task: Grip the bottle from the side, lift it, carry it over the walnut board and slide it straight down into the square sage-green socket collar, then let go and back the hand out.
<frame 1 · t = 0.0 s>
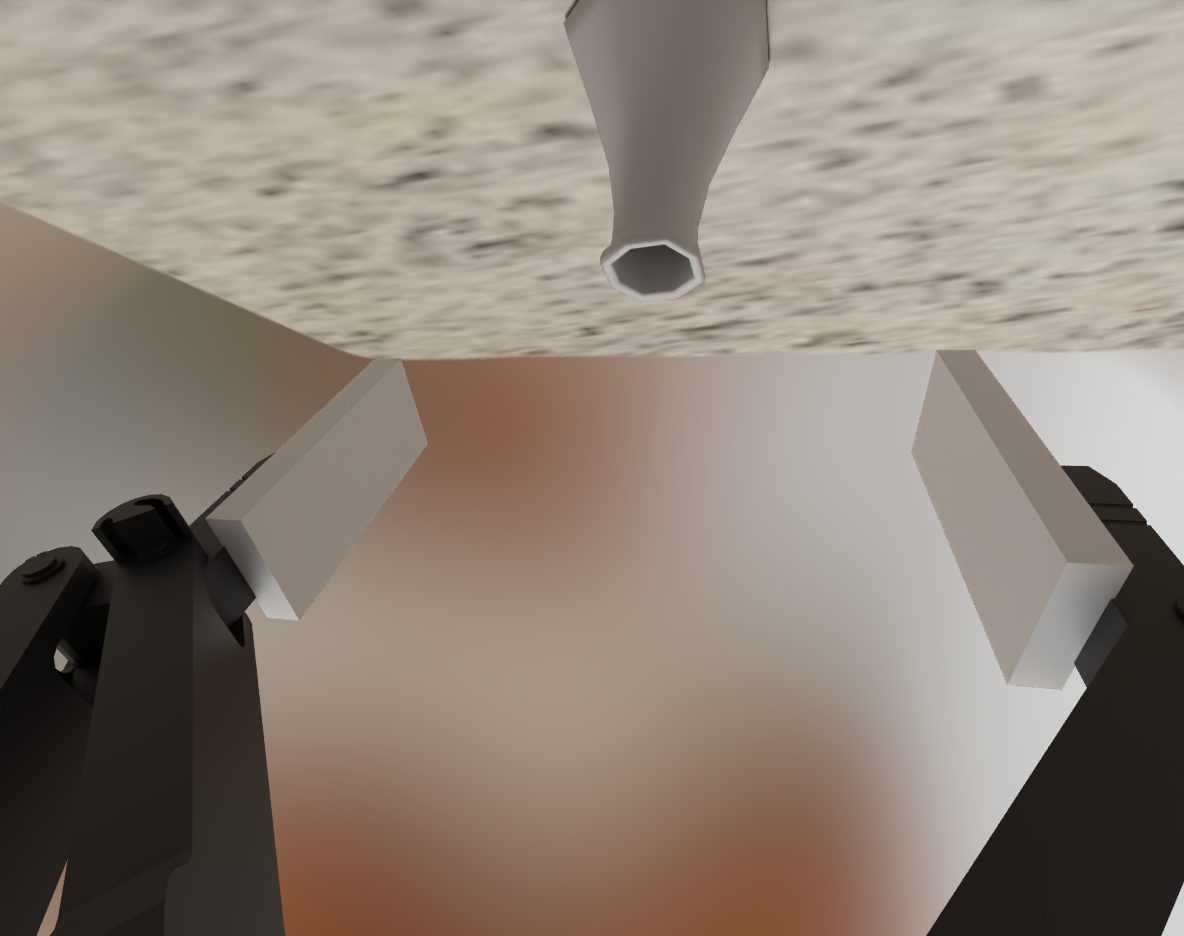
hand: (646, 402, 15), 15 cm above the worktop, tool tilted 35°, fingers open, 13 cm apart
flask: (668, 35, 22), on the worktop
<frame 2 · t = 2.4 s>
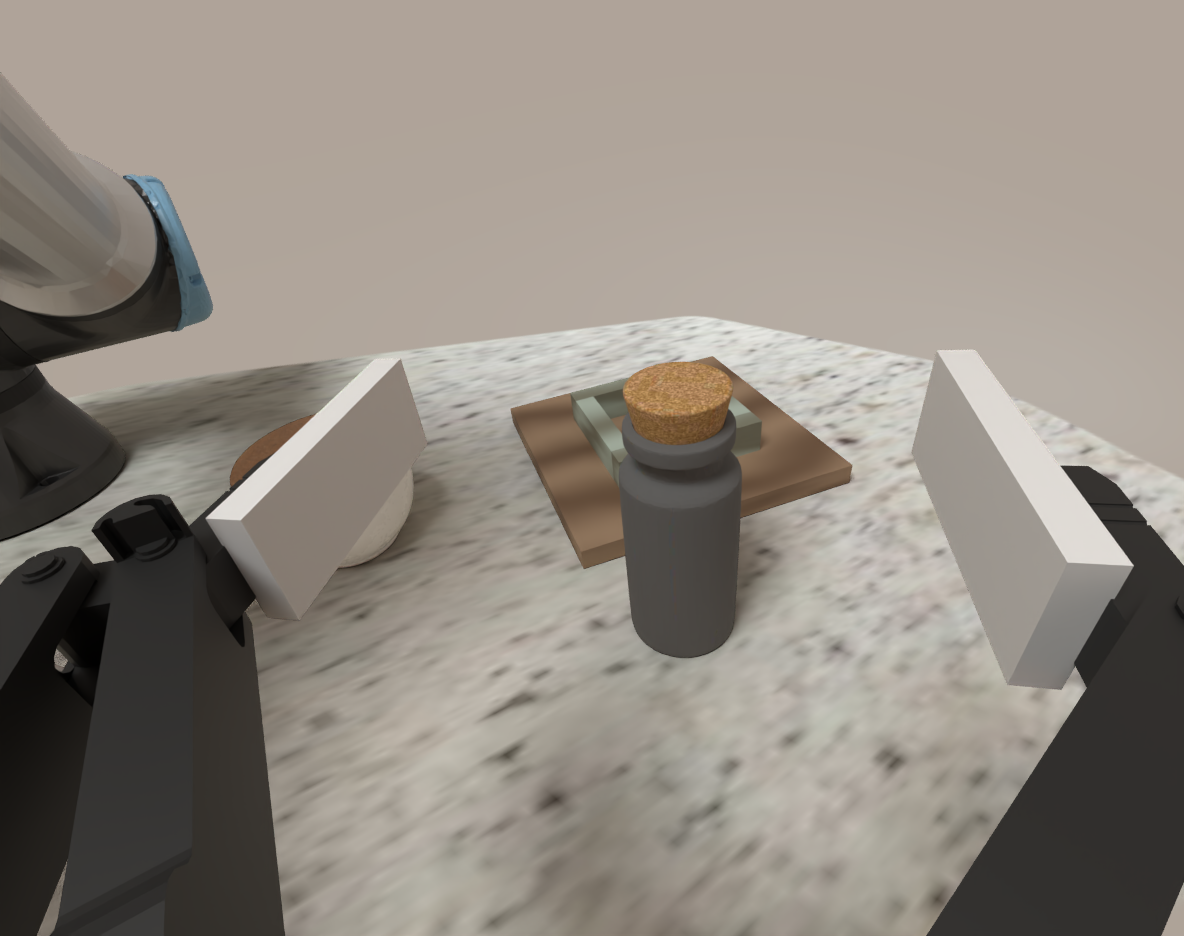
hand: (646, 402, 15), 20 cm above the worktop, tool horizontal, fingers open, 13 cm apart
socket board: (661, 449, 48), on the worktop
lidded jar: (358, 539, 43), on the worktop
bottle: (682, 618, 35), on the worktop
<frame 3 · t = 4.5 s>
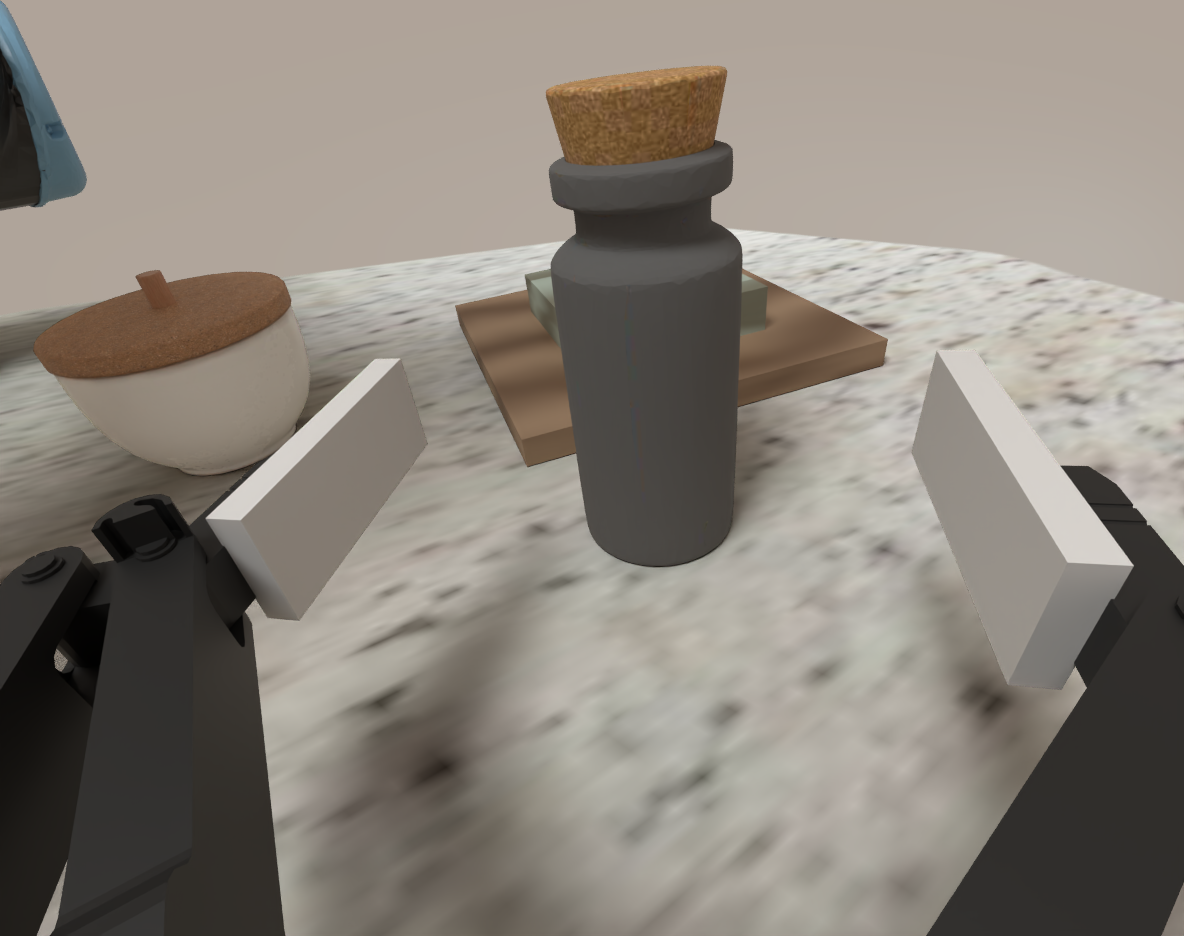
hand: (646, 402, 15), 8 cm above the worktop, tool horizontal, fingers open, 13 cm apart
socket board: (639, 342, 38), on the worktop
lidded jar: (240, 446, 33), on the worktop
bottle: (658, 520, 24), on the worktop
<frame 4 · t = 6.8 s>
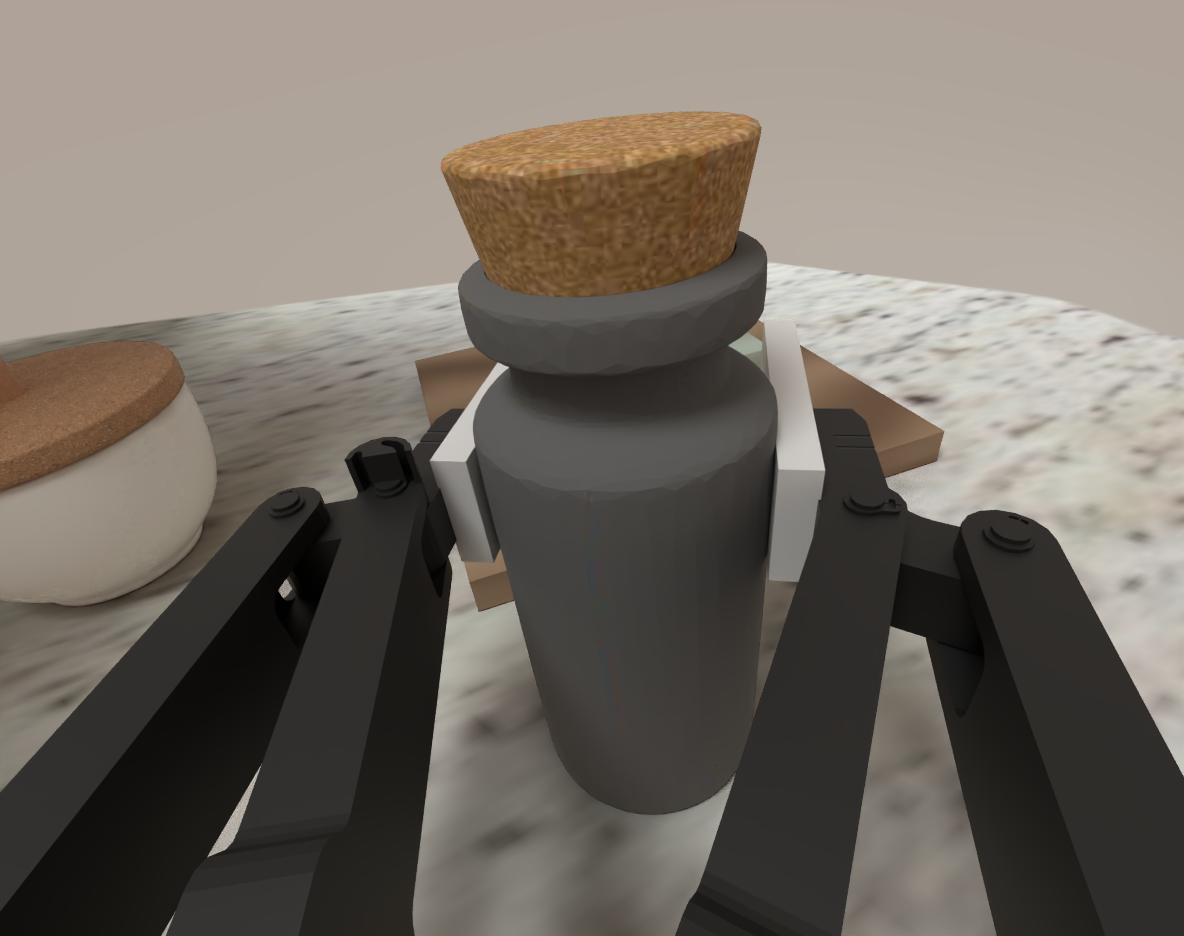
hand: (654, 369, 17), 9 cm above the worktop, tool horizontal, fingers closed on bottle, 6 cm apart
socket board: (631, 414, 31), on the worktop
lidded jar: (130, 556, 27), on the worktop
bottle: (649, 716, 18), on the worktop, touching gripper
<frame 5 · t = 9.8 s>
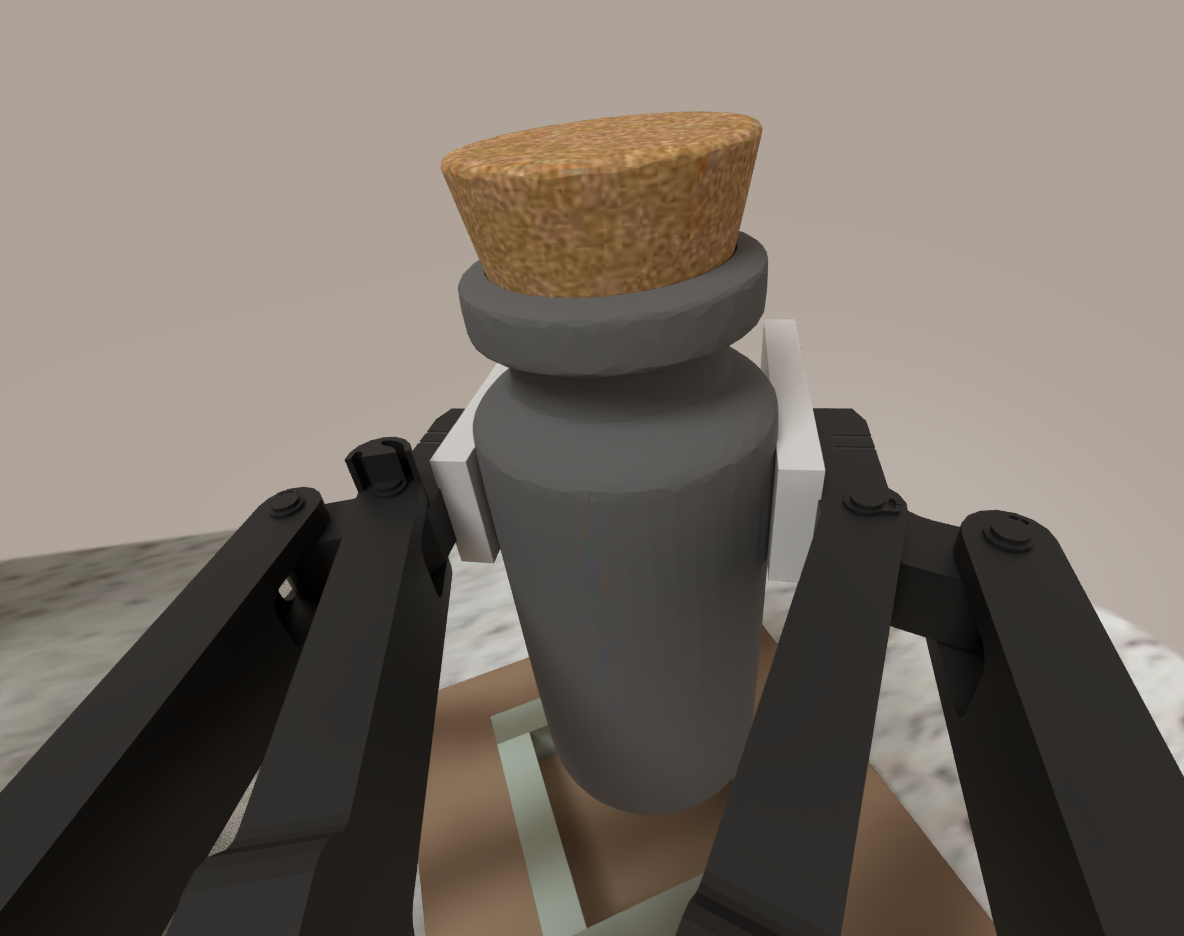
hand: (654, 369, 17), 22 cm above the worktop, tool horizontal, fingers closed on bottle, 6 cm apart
socket board: (649, 823, 27), on the worktop
bottle: (649, 717, 18), point 13 cm above the worktop, touching gripper
when the fingers open (11 cm above the worktop, at t = 12.9 s): bottle stays where it is, resting on socket board.
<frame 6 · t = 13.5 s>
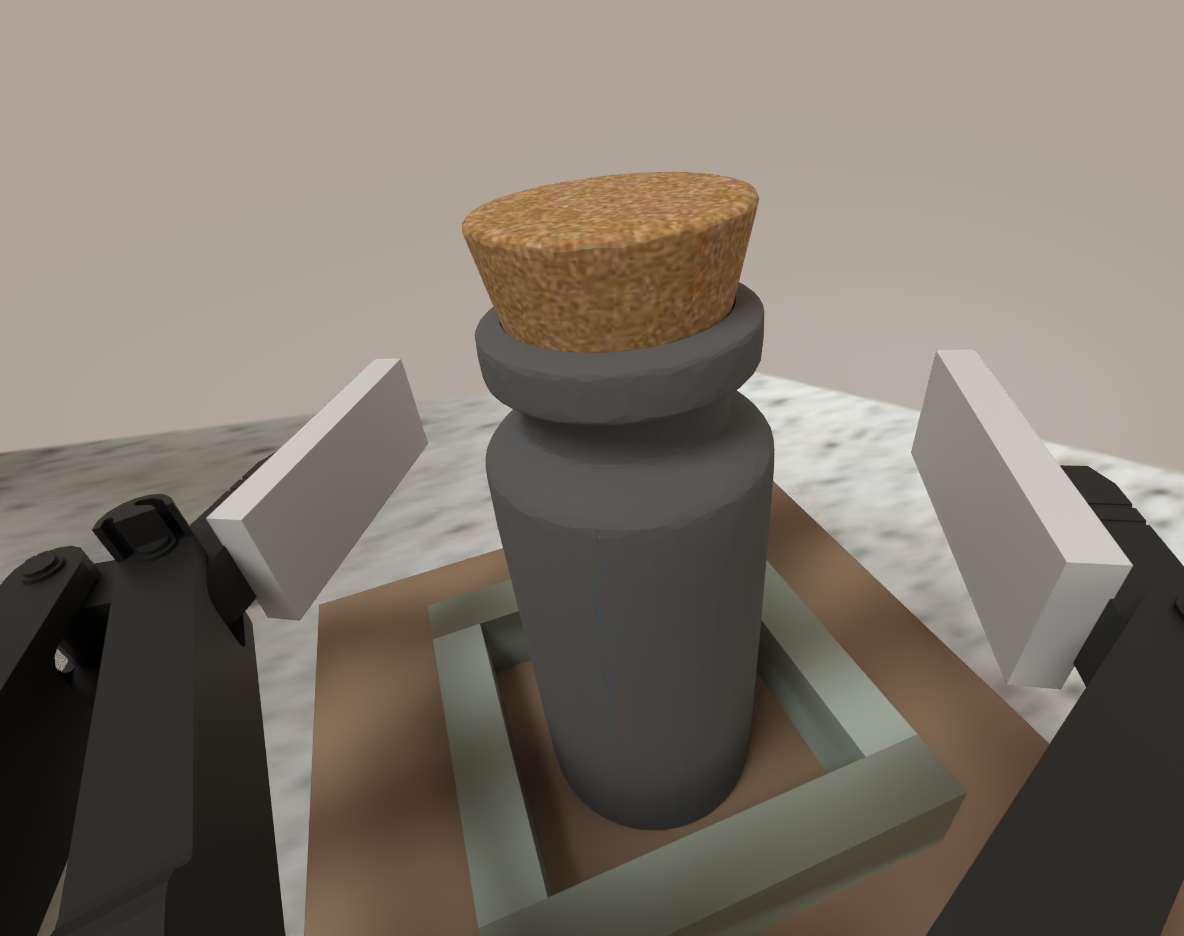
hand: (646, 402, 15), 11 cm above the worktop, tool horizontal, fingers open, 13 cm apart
socket board: (652, 757, 19), on the worktop
bottle: (650, 733, 18), point 1 cm above the worktop, touching socket board
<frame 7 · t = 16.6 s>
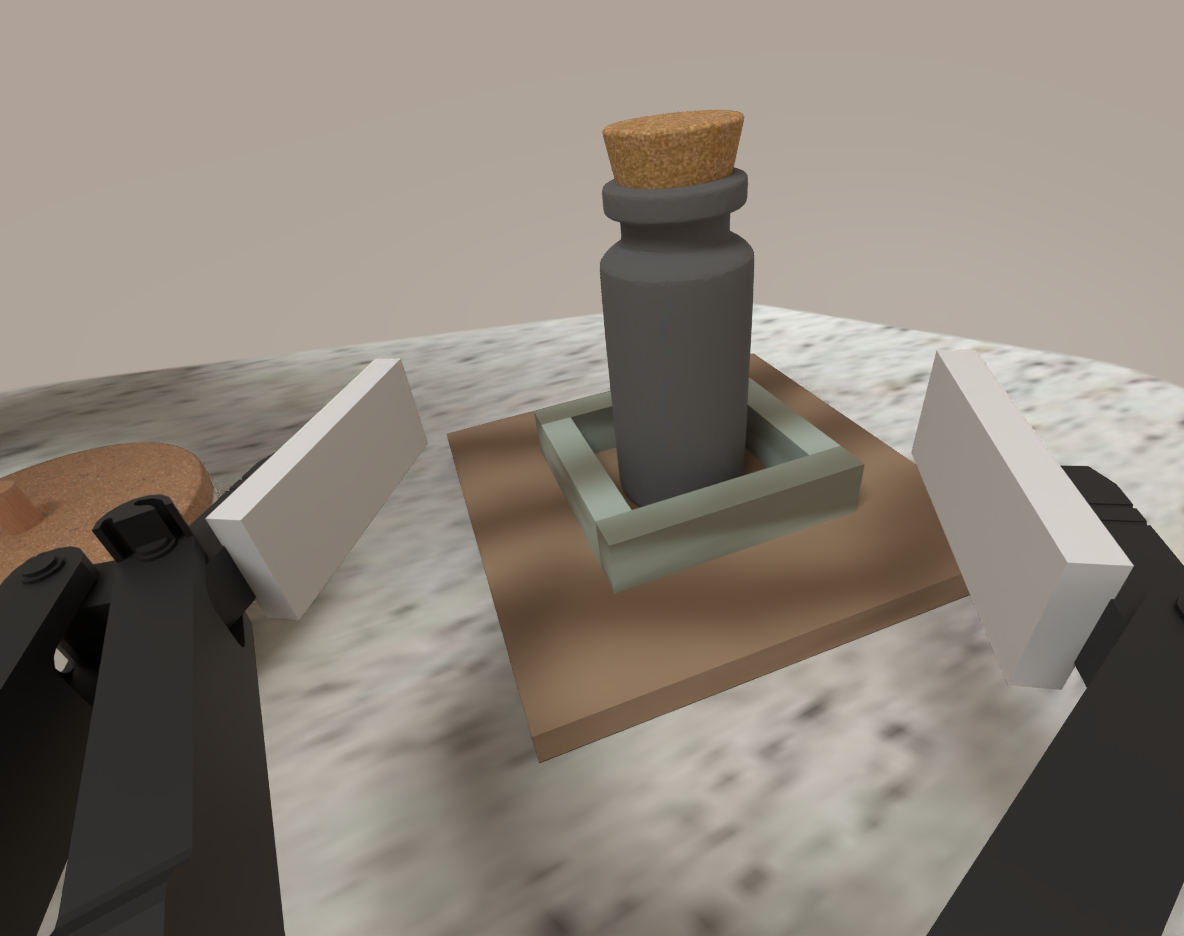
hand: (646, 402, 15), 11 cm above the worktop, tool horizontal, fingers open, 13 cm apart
socket board: (681, 502, 30), on the worktop
lidded jar: (153, 672, 25), on the worktop
bottle: (680, 481, 29), point 1 cm above the worktop, touching socket board
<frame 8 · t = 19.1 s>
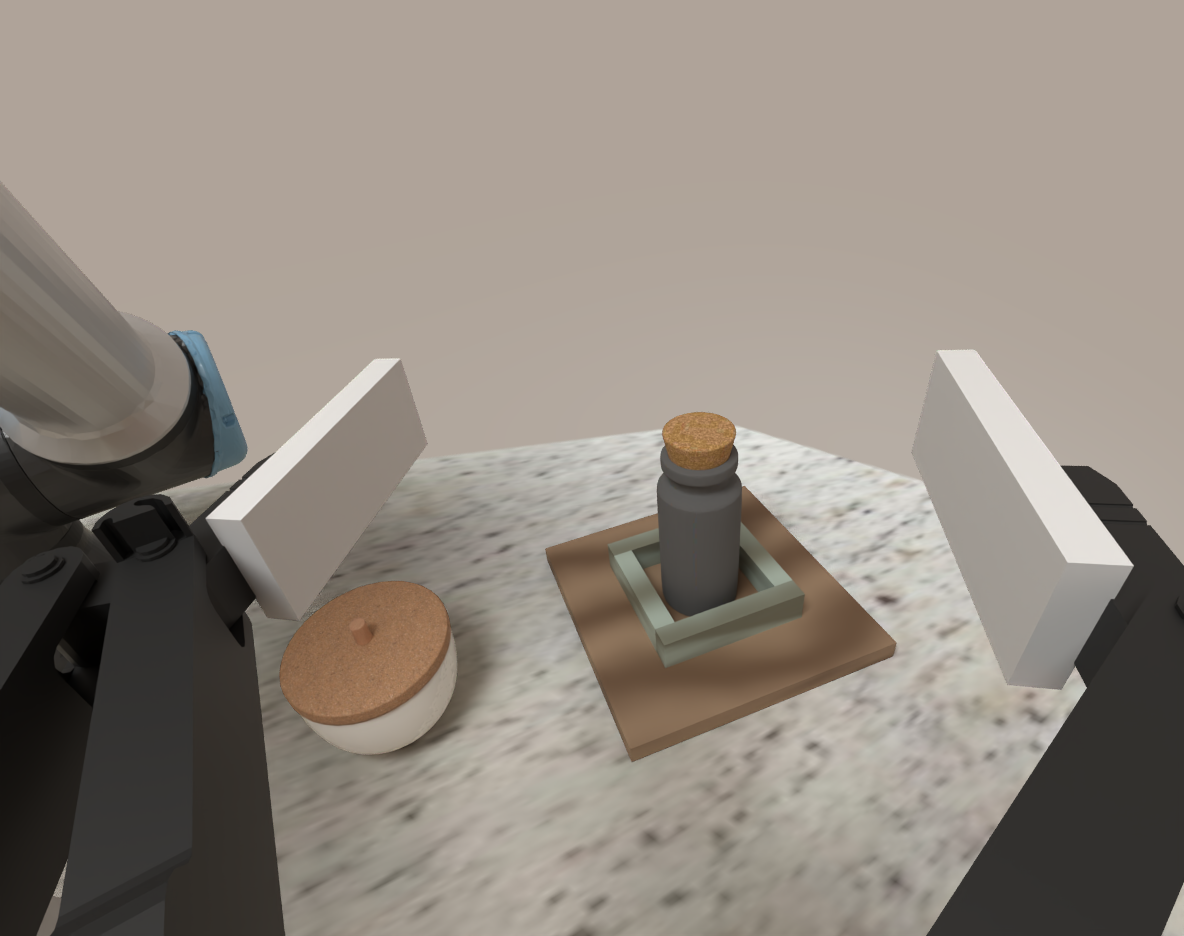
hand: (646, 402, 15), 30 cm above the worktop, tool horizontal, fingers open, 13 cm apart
socket board: (699, 602, 48), on the worktop
lidded jar: (400, 710, 43), on the worktop
bottle: (699, 591, 48), point 1 cm above the worktop, touching socket board
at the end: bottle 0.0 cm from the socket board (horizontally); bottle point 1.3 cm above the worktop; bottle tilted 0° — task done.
